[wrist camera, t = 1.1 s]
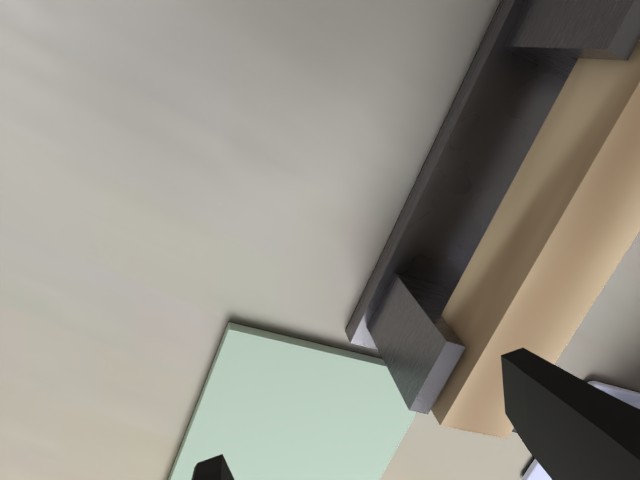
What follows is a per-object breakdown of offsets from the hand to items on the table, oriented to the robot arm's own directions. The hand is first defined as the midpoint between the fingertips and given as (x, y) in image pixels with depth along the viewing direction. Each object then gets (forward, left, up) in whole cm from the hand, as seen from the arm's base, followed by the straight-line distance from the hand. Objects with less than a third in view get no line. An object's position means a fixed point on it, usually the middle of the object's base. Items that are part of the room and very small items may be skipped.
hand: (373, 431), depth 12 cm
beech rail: (-6, -6, -7) cm, 11 cm away
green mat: (-3, +14, -11) cm, 18 cm away
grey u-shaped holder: (-6, -6, -11) cm, 14 cm away
